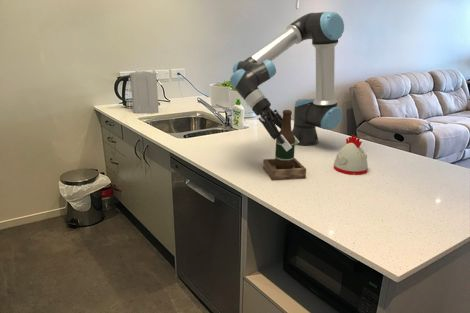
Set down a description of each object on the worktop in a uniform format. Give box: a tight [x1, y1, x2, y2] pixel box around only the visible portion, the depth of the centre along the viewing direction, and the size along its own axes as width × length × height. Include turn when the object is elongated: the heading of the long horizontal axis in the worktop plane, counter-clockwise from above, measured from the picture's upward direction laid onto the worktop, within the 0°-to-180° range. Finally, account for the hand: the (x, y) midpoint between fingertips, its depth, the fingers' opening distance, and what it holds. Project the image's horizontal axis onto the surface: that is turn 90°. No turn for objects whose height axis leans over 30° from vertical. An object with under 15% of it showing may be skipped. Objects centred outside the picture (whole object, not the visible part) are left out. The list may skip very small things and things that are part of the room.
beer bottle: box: [274, 109, 296, 169], centre depth 146 cm, size 8×8×24 cm
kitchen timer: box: [333, 134, 369, 176], centre depth 154 cm, size 14×14×15 cm
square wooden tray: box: [262, 157, 307, 181], centre depth 150 cm, size 14×14×4 cm
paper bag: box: [129, 70, 160, 115], centre depth 260 cm, size 19×15×28 cm
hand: (293, 146), depth 145 cm, fingers closed on beer bottle, 7 cm apart
